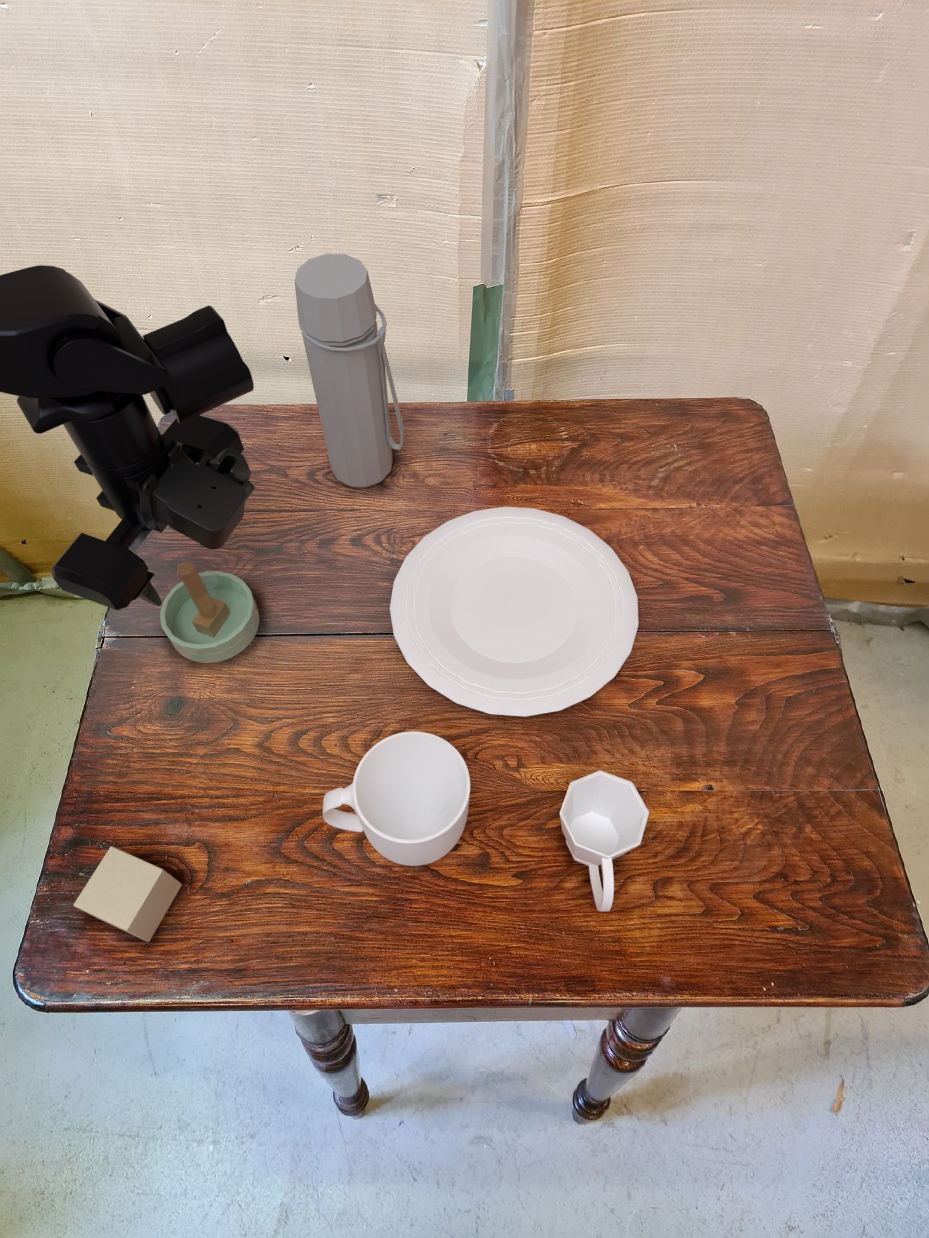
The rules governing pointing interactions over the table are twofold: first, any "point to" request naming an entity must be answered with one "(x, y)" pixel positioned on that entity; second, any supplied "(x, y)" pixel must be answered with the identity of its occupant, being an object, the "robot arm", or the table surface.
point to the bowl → (231, 634)
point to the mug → (406, 798)
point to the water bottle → (347, 367)
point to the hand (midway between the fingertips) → (184, 563)
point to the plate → (514, 611)
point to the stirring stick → (202, 601)
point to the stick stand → (128, 893)
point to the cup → (602, 826)
